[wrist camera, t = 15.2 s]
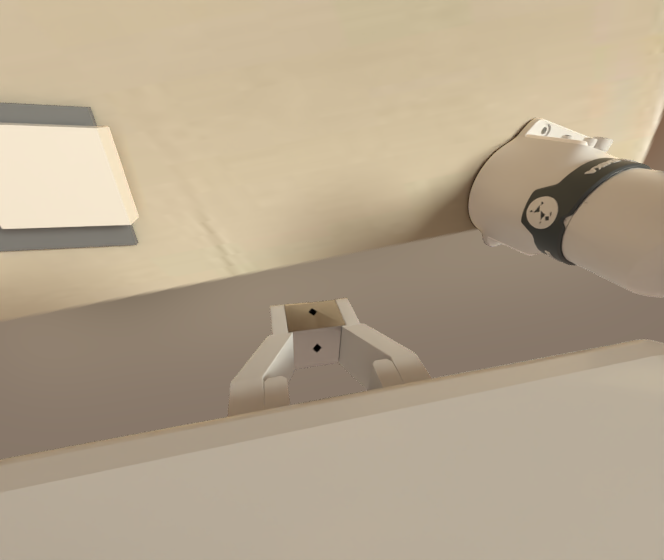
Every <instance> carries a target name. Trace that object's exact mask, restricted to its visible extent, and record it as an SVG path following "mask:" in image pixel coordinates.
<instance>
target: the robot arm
mask: <svg viewBox="0 0 664 560" xmlns="http://www.w3.org/2000/svg"><path fill="white" fill-rule="evenodd" d="M612 143H613V140H612V139H608V138H603V137H593V138H591V137H588V136H586V135H583V134H581V133H578V132H575V131H573V130H570V129H568V128H565V127H563V126H560V125H558V124H555V123H553V122H550V121H548V120H545V119H541V118H535V119H533V120H531V121H530V122H529V123H528V124H527V125H526V126H525V127H524V129H523V130H522V131H521V132H520V133H519V135H518V136H517V137H516V138H514V139H513V140H512V141H510V142H509V143H507V144H506V145H504V146H503V147H501V148H500V149H499V150H498V151H496V152H495V153H494V154H493V155H492V156H491V157H490V158H489V159H488V161H487V162H486V163H485V164H484V166H483V167H482V169H481V170H480V172H479V173H478V175H477V177H476V179H475V181H474V183H473V186H472V189H471V192H470V196H469V215H470V218H471V221H472V223H473V224H474V225H475V227H476V228H478V229H479V230H480V231H481V232H482V236H483V240H484V243H485V244H486V245H488V246H490V247H494V246H498V245H501V244H504V245H506V246H508V247H510V248H512V249H514V250H517V251H519V252H522V253H523V254H526V255H530V256H532V255H533V254H540V253H545V254H546V255H548V256H549V257H551V258H553V259H555V260H557V261H560V262H563V263H566V264H568V265H578V266H580V267H582V268H584V269H586V270H588V271H590V272H592V273H594V274H596V275H598V276H601V277H603V278H605V279H607V280H609V281H611V282H613V283H615V284H617V285H619V286H621V287H623V288H625V289H627V290H629V291H631V292H633V293H636V294H640V295H645V296H650V297H664V171H657V170H652V169H651V168H650V167H649V166H647V165H645V164H641V163H638V162H636V161H632V160H627V159H618V158H616V157H614V156H612V155H610V154H608V153H606V151H608V149H609V148H610V146H611V144H612ZM270 316H271V329H272V335H268V336H267V337H266V339H265V340H264V341H263V342H262V344H261V345H260V347H259V348H258V349H257V350H256V351H255V353H254V354H253V355H252V356H251V358H250V359H249V360H248V361H247V363H246V364H245V365H244V366H243V368H242V369H241V370H240V371H239V373H238V374H237V375H236V376H235V378H234V379H233V380H232V382H231V383H230V394H229V404H228V416H227V417H223V418H218V419H213V420H207V421H202V422H196V423H191V424H187V425H180V426H175V427H170V428H164V429H160V430H154V431H149V432H143V433H138V434H132V435H127V436H122V437H116V438H111V439H106V440H100V441H95V442H90V443H84V444H79V445H74V446H68V447H63V448H58V449H52V450H47V451H41V452H36V453H31V454H25V455H20V456H15V457H9V458H4V459H0V560H664V343H661V342H657V341H652V340H647V339H640V340H632V341H628V342H623V343H618V344H613V345H607V346H602V347H597V348H592V349H586V350H582V351H576V352H570V353H565V354H560V355H554V356H549V357H543V358H539V359H533V360H527V361H522V362H517V363H512V364H506V365H501V366H496V367H490V368H485V369H480V370H475V371H469V372H463V373H458V374H453V375H448V376H442V377H437V378H431V376H430V375H429V373H428V372H427V370H426V369H425V367H424V366H423V364H422V363H421V361H420V359H419V358H418V357H417V355H416V353H414V352H412V351H411V350H409V349H407V348H405V347H404V346H402V345H400V344H399V343H397V342H395V341H393V340H392V339H390V338H388V337H386V336H385V335H383V334H381V333H380V332H378V331H376V330H375V329H373V328H371V327H369V326H368V325H366V324H364V323H362V324H360V322H359V320H358V318H357V316H356V314H355V312H354V310H353V308H352V306H351V304H350V303H349V300H348V299H347V298H341V299H334V300H328V301H319V302H308V303H296V304H284V305H275V306H270ZM334 363H339V365H341V366H342V367H343V368H344V369H345V370H346V371H347V372H348V373H349V374H350V375H351V376H352V377H354V378H355V379H356V380H357V381H358V382H359V383H360V384H361V385H362V386H363V387H365V388H366V389H367V391H362V392H356V393H351V394H346V395H341V396H335V397H330V398H324V399H319V400H314V401H309V402H303V403H298V404H293V405H290V398H289V390H288V383H289V381H290V379H291V377H292V375H293V373H294V370H297V369H302V368H307V367H313V366H318V365H327V364H334Z"/></svg>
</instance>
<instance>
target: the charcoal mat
mask: <svg viewBox="0 0 664 560" xmlns="http://www.w3.org/2000/svg"><path fill="white" fill-rule="evenodd" d="M0 122H2V123H29V124H55V125H81V126H97V125H96V122H95V119H94V116H93V114H92V111H91V108H90V107H74V106H55V105H35V104H16V103H0ZM137 243H138V241H137V238H136V235H135V233H134V230H133V227H132V224H131V225H111V226H81V227H51V228H21V229H2V228H1V226H0V251H17V250H38V249H59V248H79V247H100V246H121V245H137Z"/></svg>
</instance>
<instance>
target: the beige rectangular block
mask: <svg viewBox="0 0 664 560" xmlns="http://www.w3.org/2000/svg"><path fill="white" fill-rule="evenodd" d="M138 218H139V215H138V212H137V209H136V206H135V203H134V200H133V197H132V194H131V191H130V188H129V185H128V182H127V179H126V176H125V173H124V170H123V167H122V164H121V161H120V158H119V155H118V152H117V149H116V146H115V143H114V140H113V137H112V134H111V131H110V128H109V127H107V126H81V125H55V124H29V123H2V122H0V226H1V228H2V229H21V228H51V227H81V226H111V225H131V224H132V223H133V222H134V221H135V220H137V219H138Z"/></svg>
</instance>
